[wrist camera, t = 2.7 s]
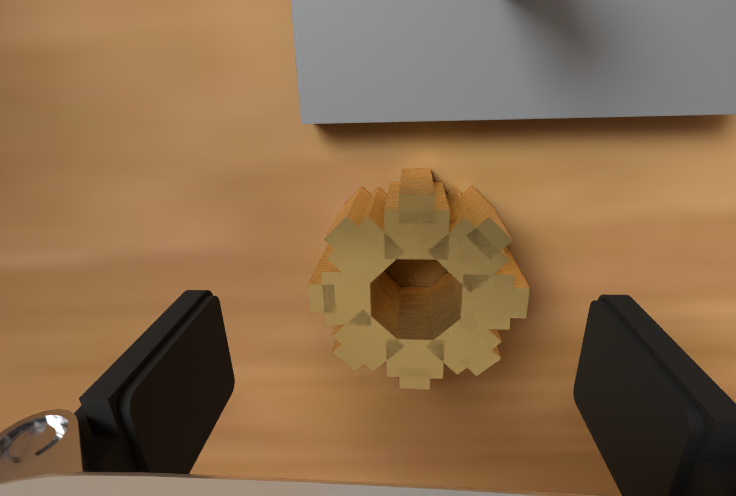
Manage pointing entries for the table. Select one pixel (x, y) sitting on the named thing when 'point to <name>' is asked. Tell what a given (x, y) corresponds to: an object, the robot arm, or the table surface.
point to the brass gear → (418, 304)
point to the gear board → (512, 59)
